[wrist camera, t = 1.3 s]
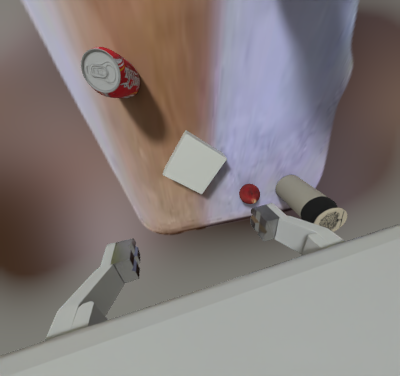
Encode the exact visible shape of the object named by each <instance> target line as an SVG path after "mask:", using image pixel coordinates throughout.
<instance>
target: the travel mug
mask: <svg viewBox="0 0 400 376" xmlns="http://www.w3.org/2000/svg"><path fill="white" fill-rule="evenodd" d="M276 193H277V194H278V195H279V196H280V197H281V198H282V199H283V200H284V201H285V202H286V203H287V204H288V205H289V206H290V207H291V208H292V209H293V210H294V211H295V212H296V213H297V214H298V215H299V216H300V217H301V218H302V219H303V220H304V221H307V222H310V223H313V224H316V225H319V226H322V227H325V228H328V229H329V230H331V231H332V232H334V231H336V230H338V229H339V228H340V227H341V226H342V225H343V224H344V223H345V222H346V219H347V212H346V211H345V210H344V209H341V208H338V207H337V205H336V203H335V202H334V201H332V200H331V199H330V198H328V197H327V196H325V195H324V194H322V193H321V192H319V191H318V190H316V189H315V188H313V187H312V186H310V185H309V184H307V183H306V182H304V181H303V180H301V179H300V178H298V177H297V176H295V175H288V176H285V177H283V178H282V179H281V180H280V181H279V182H278V183H277V185H276Z"/></svg>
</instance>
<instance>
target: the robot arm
mask: <svg viewBox="0 0 400 376" xmlns="http://www.w3.org/2000/svg"><path fill="white" fill-rule="evenodd" d="M251 214H252V216H251V218H250V222H251V225H252V227H253V228H254V230H255V231H258V235H259V236H260V238H261V239H262V240H263V241H268V240H272V239H275V240H277V241H279V242H281V243H282V244H284V245H286V246H288V247H290V248H291V249H293V250H295V251H297V252H299V253H300V254H302V256H300V257H297V258H294V259H291V260H288V261H285V262H282V263H279V264H276V265H273V266H270V267H267V268H264V269H261V270H258V271H255V272H252V273H249V274H246V275H243V276H240V277H237V278H234V279H231V280H228V281H225V282H222V283H219V284H216V285H213V286H210V287H207V288H204V289H201V290H197V291H194V292H191V293H188V294H185V295H182V296H179V297H177V298H173V299H170V300H167V301H164V302H161V303H158V304H155V305H152V306H149V307H146V308H143V309H140V310H137V311H134V312H131V313H128V314H125V315H122V316H119V317H116V318H113V319H110V320H107V318H106V317H105V316H106V315H107V313H108V311H109V309H110V308H111V306H112V304H113V303H114V301H115V299H116V298H117V296H118V294H119V293H120V291H121V289H122V288H123V286H124V283H127V282H131V281H134V280H136V279H139V272H140V268H139V266H138V265H139V263H140V252H139V249H138V247H136V242H135V240H134V239H129V240H124V241H120V242H116V243H112V244H108V245H107V246H106V250H105V253H104V256H103V259H102V262H101V266H100V268H97V269H96V270H95V271H94V272H93V274H92V275H91V276H90V277H89V278H88V279H87V280H86V281H85V282H84V283H83V284H82V285H81V286H80V287H79V289H78V290H77V291H76V292H75V293H74V294H73V295H72V296H71V297H70V298H69V299H68V300H67V302H65V304H64V305H63V306H62V307H61V308H60V309H59V310H58V312H57V314H56V316H55V318H54V321H53V323H52V325H51V328H50V330H49V332H48V335H47V337H46V339H45V341H43V342H40V343H37V344H34V345H31V346H28V347H25V348H22V349H19V350H16V351H13V352H10V353H7V354H4V355H1V356H0V376H400V225H395V226H391V227H388V228H385V229H382V230H379V231H376V232H373V233H370V234H367V235H364V236H361V237H358V238H355V239H352V240H349V241H344V240H343V239H341V238H340V237H339V236H338V235H336V234H335V233H333V232H332V231H331V230H329V229H328V228H325V227H322V226H319V225H316V224H313V223H310V222H307V221H304V220H301V219H298V218H295V217H292V216H287V215H285V214H284V213H283V212H282V211H281V210H280V209H279V208H277V207H276V206H275V205H274V204H272V203H269V204H266V205H262V206H259V207H255V208H252V209H251Z"/></svg>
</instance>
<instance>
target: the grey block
mask: <svg viewBox="0 0 400 376" xmlns="http://www.w3.org/2000/svg"><path fill="white" fill-rule="evenodd" d="M226 159H227V158H226V157H225V155H224V154H223V153H222V152H220V151H219V150H217V149H215V148H214V147H212V146H211V145H209V144H207V143H206V142H204V141H203V140H201V139H199V138H198V137H196V136H195V135H193V134H191V133H190V132H188V131H187V130H185V132H184V134H183V136H182V137H181V139H180V141H179V143H178V145H177V146H176V148H175V150H174V152H173V154H172V155H171V157H170V159H169V161H168V163H167V164H166V166H165V168H164V172H163V175H164V176H166V177H168V178H170V179H172V180H174V181H176V182H178V183H180V184H182V185H184V186H186V187H188V188H190V189H192V190H194V191H196V192H198V193H200V194H202V193H203V192H204V191H205V189H206V188H207V186H208V185H209V184H210V182H211V181H212V179H213V178H214V176H215V175H216V174H217V172H218V171H219V169H220V168H221V167H222V165H223V164H224V162H225V161H226Z"/></svg>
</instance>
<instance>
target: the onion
mask: <svg viewBox="0 0 400 376" xmlns="http://www.w3.org/2000/svg"><path fill="white" fill-rule="evenodd" d="M239 195H240V198H241V200H242V201H243V202H245V203H247V204H253V203H256V201H258V199H259V197H260V192H259V189H258V188H257V187H256V186H255V185H253V184H246V185H244V186H243V187H242V188H241V189H240V192H239Z"/></svg>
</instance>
